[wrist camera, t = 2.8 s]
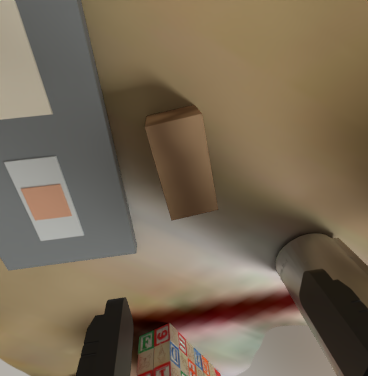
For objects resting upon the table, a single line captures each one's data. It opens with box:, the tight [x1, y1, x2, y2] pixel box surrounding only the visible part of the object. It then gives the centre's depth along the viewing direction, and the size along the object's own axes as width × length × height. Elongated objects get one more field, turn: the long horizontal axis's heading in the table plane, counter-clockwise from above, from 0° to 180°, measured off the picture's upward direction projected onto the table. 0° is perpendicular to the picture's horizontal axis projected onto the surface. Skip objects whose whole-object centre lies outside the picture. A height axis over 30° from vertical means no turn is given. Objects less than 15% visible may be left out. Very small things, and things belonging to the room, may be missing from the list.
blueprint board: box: [0, 0, 137, 270], centre depth 22 cm, size 16×38×2 cm, turn 5°
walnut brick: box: [145, 105, 218, 220], centre depth 25 cm, size 5×10×5 cm, turn 12°
